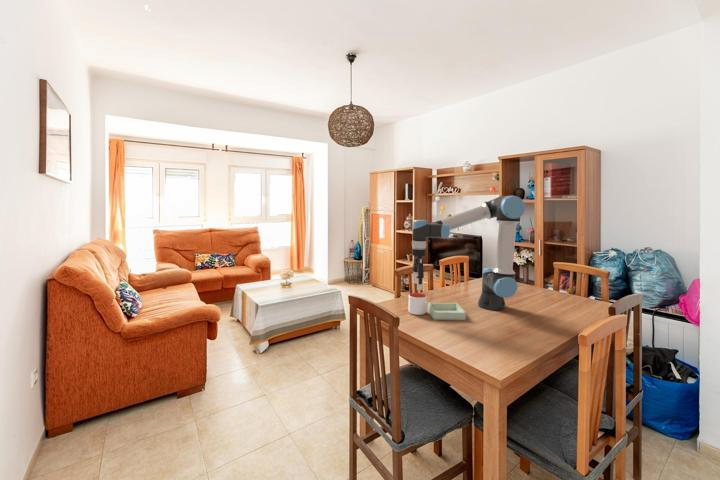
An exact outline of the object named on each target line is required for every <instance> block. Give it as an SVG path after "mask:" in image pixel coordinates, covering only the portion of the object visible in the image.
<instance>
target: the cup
mask: <svg viewBox="0 0 720 480" xmlns="http://www.w3.org/2000/svg"><path fill="white" fill-rule="evenodd" d="M407 310H408V312H409V314H412V315H415V316H422V315H425V314H426V313H427V311H428V295H427V294H426V293H421V292H411V293H409V294H408V309H407Z"/></svg>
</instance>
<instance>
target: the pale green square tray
mask: <svg viewBox="0 0 720 480" xmlns="http://www.w3.org/2000/svg"><path fill="white" fill-rule="evenodd" d="M427 311H428V313H429V314H430V316H431V317H432V319H433V320H434V321H466V315H467V313H466V310H464V309H463V307H461V305H460V304H459V303H458V302H430V301H427Z"/></svg>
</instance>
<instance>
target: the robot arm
mask: <svg viewBox="0 0 720 480" xmlns="http://www.w3.org/2000/svg"><path fill="white" fill-rule="evenodd" d="M525 210H526V203H525V201H523V199H522V198H521V197H520V196H517V195H502V196H498V197H496V198H494V199H491V200H488V201H486V202H483V203H482V204H481V205H480V206H476V207H474V208H472V209H469V210H465V211H463V212H459V213H457V214H454V215H451V216H449V217H445V218H442V219H440V220H437V221H431V222H429V223H428V220H425V219H415V220H413V221H412V222H413V223H412V237H411V238H412V240H411V243H410V244H411V247H412V248H411V255H412V256H413V257H414V258H413V266H412V270H413V272H412V273H413V274H412V284H414V285H415V284H416V290H417V291H423V283H424V282H423V281H424V278H425V273H424V259H423V257H425V256H426V255H427V249H426V248H427V238H429V239H430V238H431V239H448V238H449V237H450V232H451V231H453V230H456V229H458V228H461V227H464V226H467V225H470V224H473V223H475V222H476V223H477V222H479V221H482V220H485V219H488V220H491V219H493V218H496V220H495V221H496V222H497V223H498V230H497V231H498V233H497V243H496V244H497V246H496V255H495V256H496V257H495V267H484V268H483V269H482V273H481V274H482V276H481V277H482V278H481V279H482V280H481V293H480V296H479V297H478V300H477V306H478V307H480V308H482V309H485V310H488V311H489V310H490V311H503V310H505V309H506V301H505V299H507V298H510V297H512V296H514V295H515V294H516V292H517V291H518V287H519V285H518V282H517V280H516V272H515V270H514V269H513V268H514V267H513V266H514V256H515V246H516V245H515V244H516V235H517V226H518V224H519V223H521V218H522V216H523V215H524V213H525Z"/></svg>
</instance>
